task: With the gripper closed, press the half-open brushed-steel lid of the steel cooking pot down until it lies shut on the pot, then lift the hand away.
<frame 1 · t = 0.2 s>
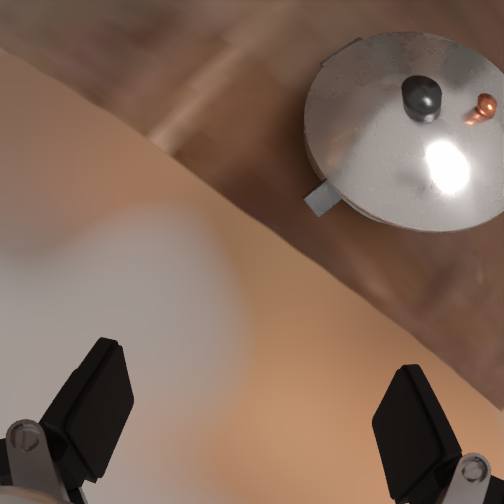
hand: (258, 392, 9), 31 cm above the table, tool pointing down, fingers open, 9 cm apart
pot: (372, 136, 35), on the table
lid: (419, 100, 18), point 17 cm above the table, hinge at 40.0°
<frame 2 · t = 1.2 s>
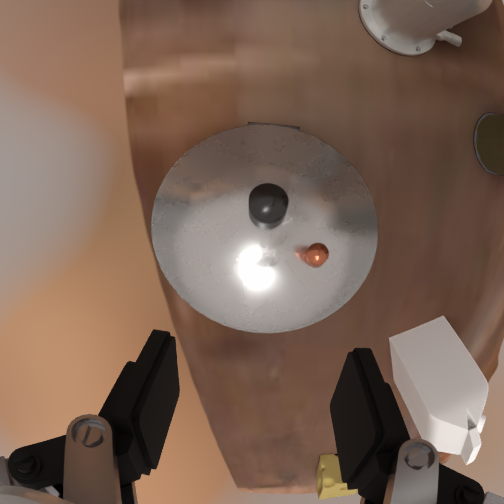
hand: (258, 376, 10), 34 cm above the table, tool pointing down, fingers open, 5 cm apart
lid: (267, 206, 24), point 17 cm above the table, hinge at 40.0°
milk: (418, 349, 50), on the table
cheese: (336, 460, 64), on the table
canister: (493, 142, 36), on the table
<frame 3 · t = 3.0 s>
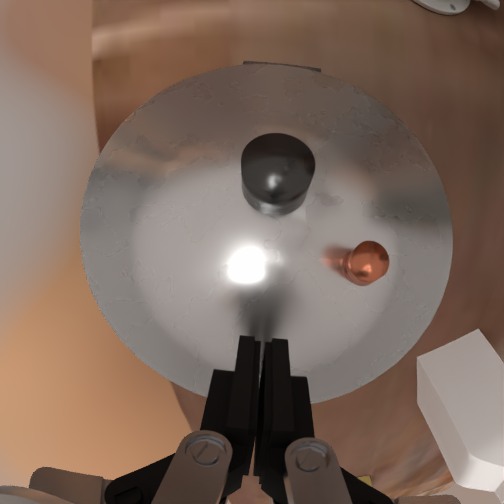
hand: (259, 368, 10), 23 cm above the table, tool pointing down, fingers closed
lid: (275, 175, 13), point 17 cm above the table, hinge at 40.0°, touching gripper
milk: (447, 368, 39), on the table
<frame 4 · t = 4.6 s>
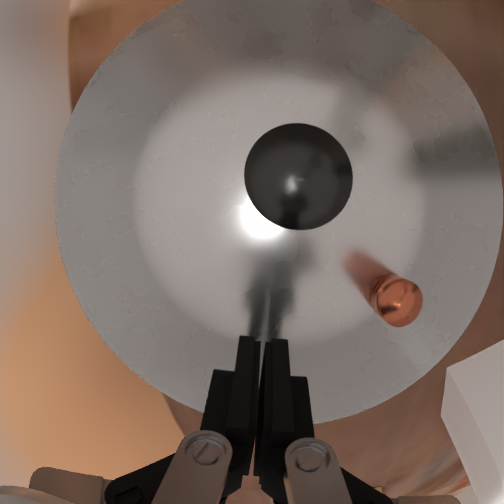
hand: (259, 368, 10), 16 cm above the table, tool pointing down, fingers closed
lid: (295, 174, 9), point 14 cm above the table, hinge at 16.9°, touching gripper
milk: (476, 377, 32), on the table
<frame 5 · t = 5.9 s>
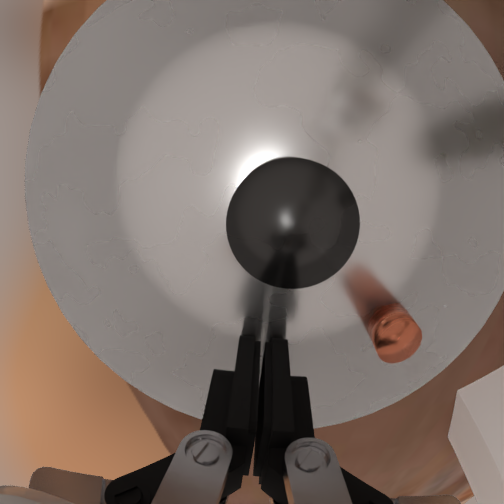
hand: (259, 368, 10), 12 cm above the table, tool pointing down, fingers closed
lid: (290, 203, 8), point 12 cm above the table, hinge at 3.0°, touching gripper
milk: (486, 397, 28), on the table
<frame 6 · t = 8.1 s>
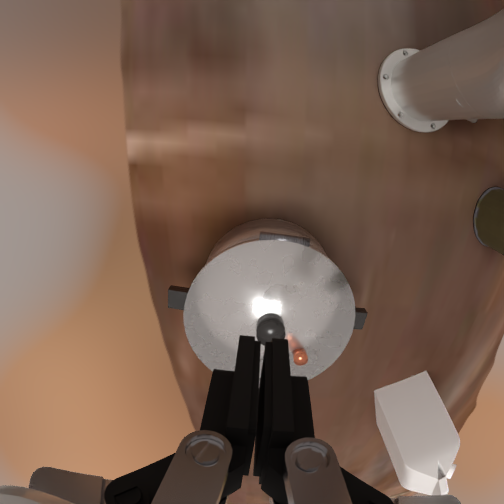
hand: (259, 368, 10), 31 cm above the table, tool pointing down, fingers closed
pot: (267, 280, 44), on the table
lid: (270, 325, 32), point 12 cm above the table, hinge at 2.7°
milk: (400, 398, 53), on the table
canister: (493, 215, 39), on the table
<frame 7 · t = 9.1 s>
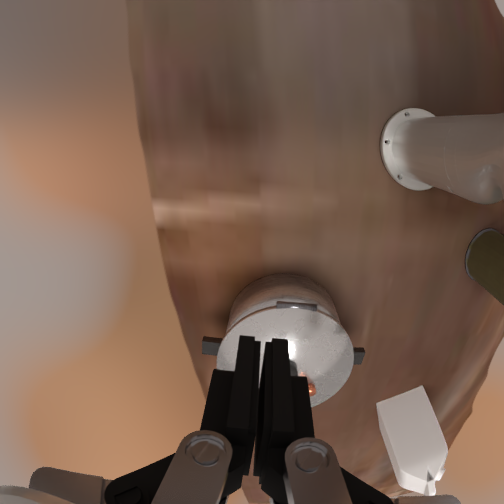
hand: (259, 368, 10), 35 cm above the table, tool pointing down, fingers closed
pot: (283, 321, 51), on the table
lid: (286, 368, 39), point 12 cm above the table, hinge at 2.7°
milk: (400, 408, 59), on the table
canister: (484, 253, 44), on the table
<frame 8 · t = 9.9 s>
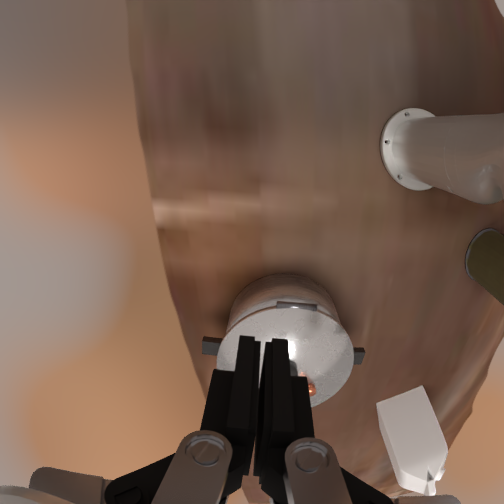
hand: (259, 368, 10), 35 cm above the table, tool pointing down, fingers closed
pot: (283, 321, 51), on the table
lid: (286, 368, 39), point 12 cm above the table, hinge at 2.7°
milk: (400, 408, 59), on the table
canister: (484, 253, 44), on the table
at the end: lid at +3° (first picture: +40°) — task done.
